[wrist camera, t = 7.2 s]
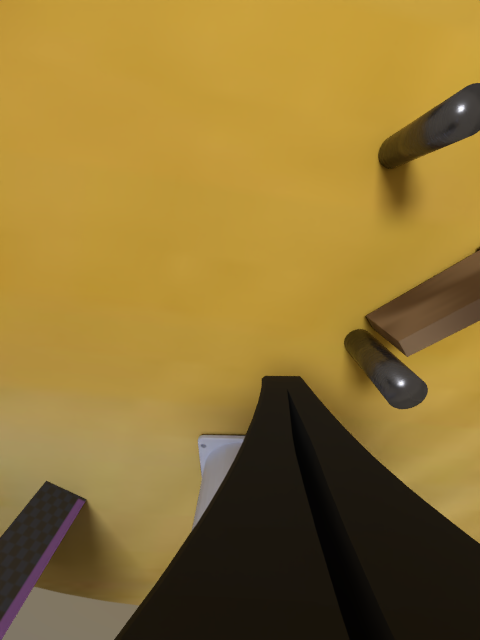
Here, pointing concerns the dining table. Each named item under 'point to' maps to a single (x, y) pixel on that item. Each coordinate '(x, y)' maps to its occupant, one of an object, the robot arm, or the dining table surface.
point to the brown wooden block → (432, 308)
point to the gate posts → (405, 145)
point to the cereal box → (32, 545)
